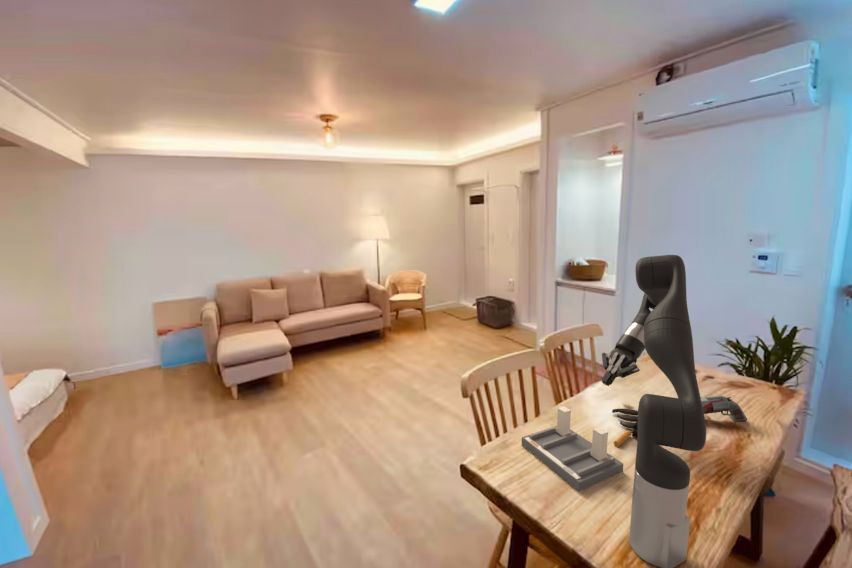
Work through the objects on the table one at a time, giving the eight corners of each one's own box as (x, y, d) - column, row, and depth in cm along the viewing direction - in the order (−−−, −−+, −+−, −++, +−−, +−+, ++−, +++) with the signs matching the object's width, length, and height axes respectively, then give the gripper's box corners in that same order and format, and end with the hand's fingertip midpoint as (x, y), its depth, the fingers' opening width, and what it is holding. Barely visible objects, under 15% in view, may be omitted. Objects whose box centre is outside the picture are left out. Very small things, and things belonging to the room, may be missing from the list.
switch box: (622, 472, 102) (623, 459, 101) (578, 491, 95) (579, 478, 95) (561, 431, 122) (562, 420, 121) (521, 444, 115) (521, 433, 114)
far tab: (570, 435, 114) (571, 410, 113) (564, 437, 113) (565, 412, 112) (561, 429, 117) (562, 405, 116) (555, 431, 116) (556, 407, 115)
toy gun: (676, 423, 131) (672, 396, 129) (741, 416, 127) (738, 389, 126) (682, 430, 127) (679, 402, 125) (749, 424, 123) (747, 395, 121)
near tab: (607, 459, 103) (609, 432, 101) (601, 462, 102) (602, 435, 100) (596, 452, 106) (598, 426, 104) (590, 455, 105) (591, 428, 103)
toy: (676, 472, 103) (698, 425, 123) (677, 460, 102) (700, 414, 123) (590, 439, 118) (623, 402, 139) (590, 429, 118) (623, 393, 138)
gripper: (611, 328, 127) (582, 370, 124) (648, 339, 115) (617, 386, 113) (621, 341, 130) (593, 381, 128) (658, 353, 119) (629, 398, 116)
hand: (605, 383), depth 120 cm, fingers closed
